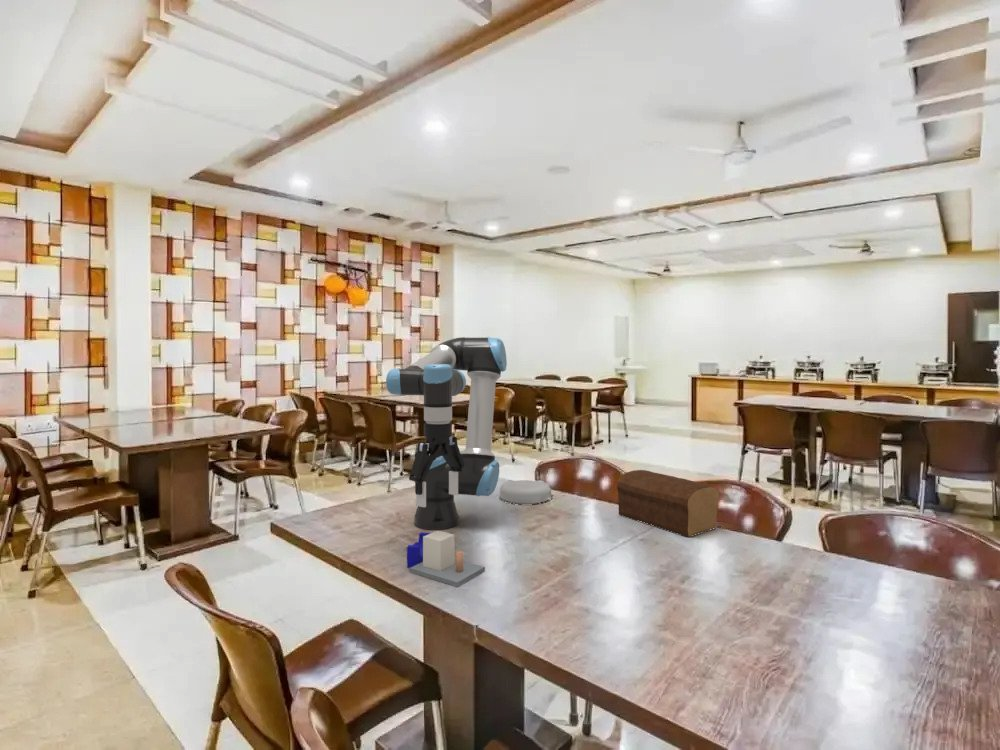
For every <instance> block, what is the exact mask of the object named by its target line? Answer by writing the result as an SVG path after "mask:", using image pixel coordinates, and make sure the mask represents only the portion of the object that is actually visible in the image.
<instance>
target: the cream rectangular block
mask: <svg viewBox="0 0 1000 750" xmlns="http://www.w3.org/2000/svg"><path fill="white" fill-rule="evenodd" d="M430 533H431V534H428V535H426V536H423V566H425V567H429V568H432V569H435V570H439V571H441V570H443V569H445V568H447V567H449V566H451V565H453V564H454V562H455V559H456V551H455V548H456V547H455V541H456V539H455V537H456V536H455V535H456V534H454V533H453V534H452V533H448V532H446V531H445V532H444V531H441V530H436V531H435V530H434V532H430Z"/></svg>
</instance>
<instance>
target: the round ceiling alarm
mask: <svg viewBox="0 0 1000 750" xmlns="http://www.w3.org/2000/svg"><path fill="white" fill-rule="evenodd" d="M499 494H500V496H499V498H500V499H501V500H502V501H504V500H505V503H504V504H506V503H510V502H512V503H513V504H515V503H519V504H522V505H532V503H539V502H543V503H545V502H544V501H546V502H548V501H550V500H551V499H552V497H551V495H552V488H551V486H550V484H548V483H547V482H546V481H543V480H541V479H539V480H527V479H526V480H525V479H523V480H520V479H519V480H512V479H508V480H506V481H503V483H502V484H500V488H499ZM547 500H548V501H547ZM507 501H508V502H507ZM539 504H540V503H539ZM509 505H511V503H510V504H509ZM514 506H518V504H515V505H514Z"/></svg>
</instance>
